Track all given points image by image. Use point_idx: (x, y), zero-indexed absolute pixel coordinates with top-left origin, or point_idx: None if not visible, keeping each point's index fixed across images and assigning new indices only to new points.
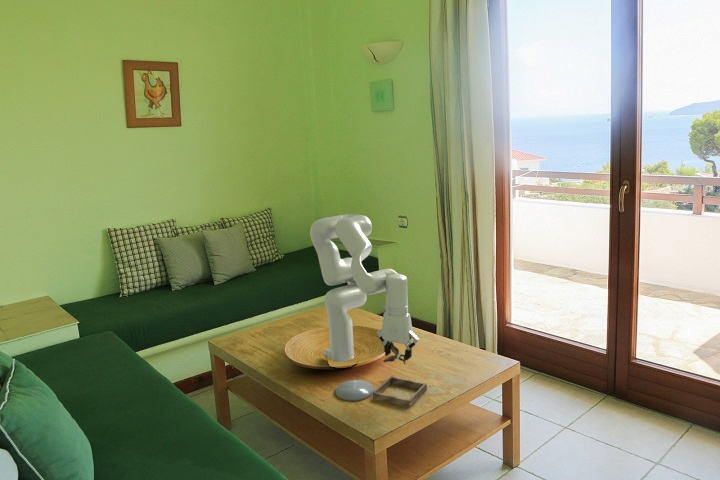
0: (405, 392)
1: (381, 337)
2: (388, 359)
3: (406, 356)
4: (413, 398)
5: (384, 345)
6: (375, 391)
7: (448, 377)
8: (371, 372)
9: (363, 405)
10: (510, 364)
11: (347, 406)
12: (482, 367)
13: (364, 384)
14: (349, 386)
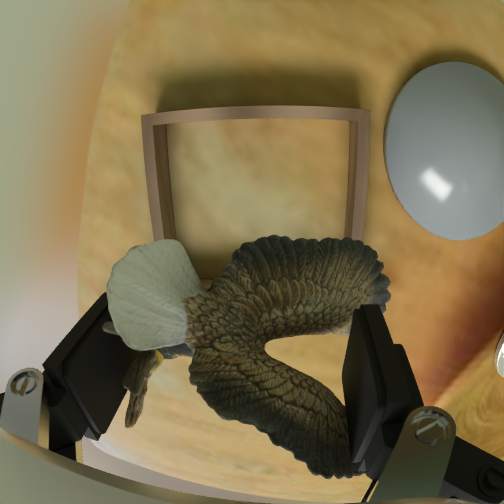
0: (244, 232)
1: (492, 496)
2: (320, 264)
3: (88, 313)
4: (146, 156)
5: (421, 408)
6: (361, 126)
7: (163, 381)
8: (445, 324)
9: (369, 39)
10: (95, 442)
11: (426, 15)
12: (128, 432)
13: (446, 209)
14: (494, 167)
